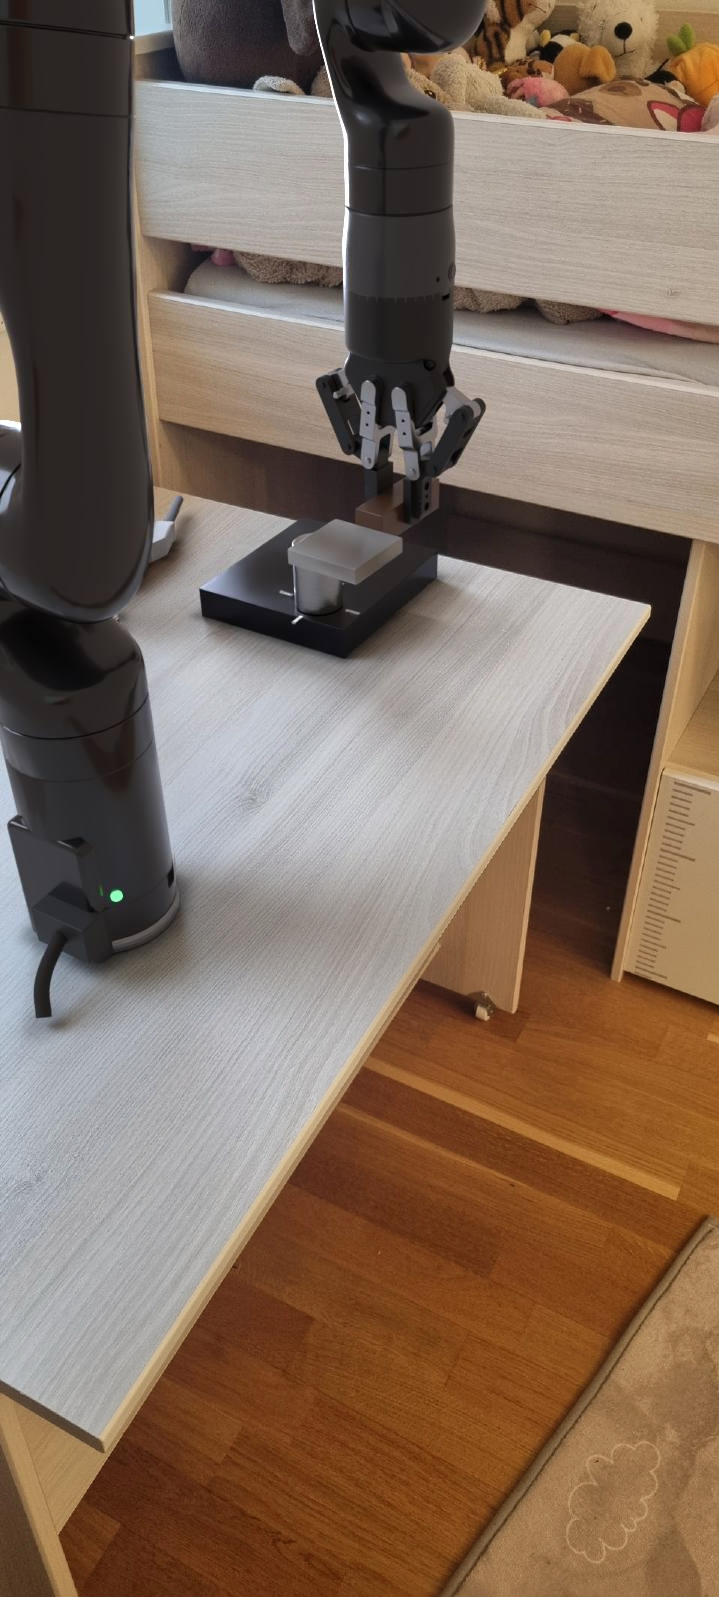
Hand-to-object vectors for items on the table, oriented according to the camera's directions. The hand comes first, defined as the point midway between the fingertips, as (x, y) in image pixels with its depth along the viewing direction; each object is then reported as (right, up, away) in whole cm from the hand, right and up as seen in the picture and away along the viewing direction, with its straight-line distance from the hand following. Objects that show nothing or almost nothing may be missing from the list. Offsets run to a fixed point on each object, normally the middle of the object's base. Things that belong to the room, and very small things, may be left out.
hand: (398, 515), depth 91 cm
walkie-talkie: (-27, +5, +35) cm, 44 cm away
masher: (-1, -2, -1) cm, 3 cm away
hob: (-7, -2, +26) cm, 27 cm away
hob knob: (-7, -4, +19) cm, 20 cm away
